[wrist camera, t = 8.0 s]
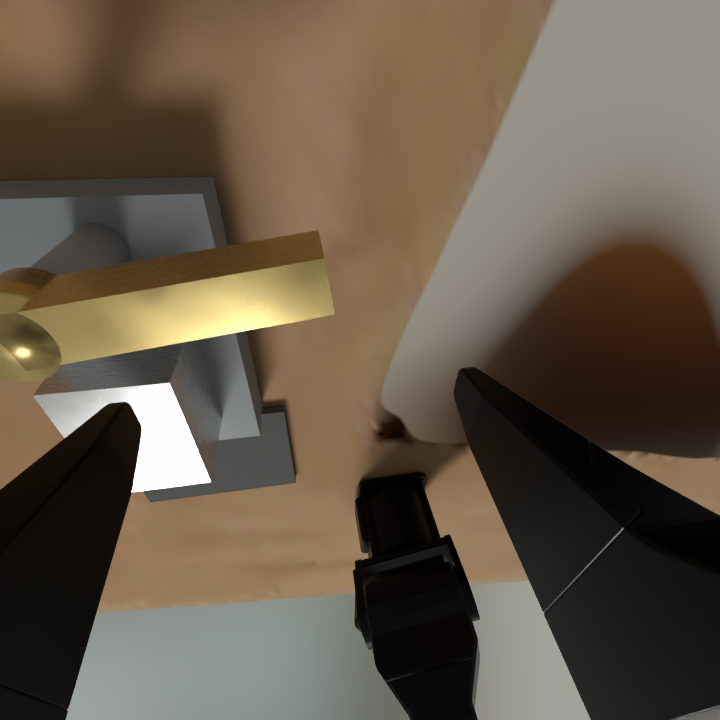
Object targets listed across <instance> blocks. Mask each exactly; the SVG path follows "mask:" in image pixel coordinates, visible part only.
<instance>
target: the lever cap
mask: <svg viewBox="0 0 720 720" xmlns="http://www.w3.org/2000/svg"><path fill="white" fill-rule="evenodd" d="M33 397H34V398H35V400H36V401H37V402H38V404H39V405H40V406H41V408H42V409H43V410H44V412H45V413H46V414H47V415H48V417H49V418H50V419H51V421H52V422H53V423H54V425H55V426H56V427H57V429H58V430H59V431H60V433H61V434H62V435H63V437H64V438H66V437H67V436H68V435H69V434H71V433H72V432H73V431H74V430H76V429H77V428H78V427H79V426H81V425H82V424H83V423H84V422H86V421H87V420H88V419H89V418H91V417H92V416H93V415H94V414H96V413H97V412H98V411H99V410H101V409H102V408H103V407H104V406H106V405H107V404H110V403H117V402H127V403H129V404H130V405H131V407H132V409H133V411H134V412H135V414H136V416H137V418H138V420H139V422H140V424H141V427H142V434H141V441H140V447H139V453H138V459H137V465H136V471H135V477H134V483H133V488H132V492H138V491H145V490H153V489H161V488H169V487H176V486H184V485H192V484H199V483H207V482H211V479H212V474H213V468H214V462H215V456H216V450H217V445H218V439H219V433H220V427H221V421H222V417H221V414H220V411H219V407H218V404H217V401H216V398H215V395H214V392H213V389H212V386H211V383H210V380H209V377H208V374H207V370H206V367H205V364H204V361H203V358H202V355H201V352H200V349H199V346H198V343H197V340H194V341H188V342H183V343H177V344H172V345H166V346H161V347H156V348H150V349H145V350H139V351H134V352H128V353H123V354H118V355H112V356H107V357H101V358H96V359H90V360H85V361H79V362H74V363H69V364H63V365H61V366H60V367H59V369H58V370H57V371H56V372H55V373H54V374H53V375H51V376H50V377H48V378H46V379H45V380H44V381H43V383H42V384H41V385H40V386H39V388H38V389H37V390H36V392H35V393H34V394H33Z"/></svg>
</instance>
